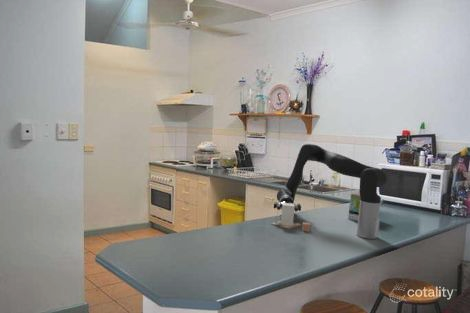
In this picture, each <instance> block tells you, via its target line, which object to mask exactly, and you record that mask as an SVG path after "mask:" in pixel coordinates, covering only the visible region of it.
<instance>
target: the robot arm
mask: <svg viewBox="0 0 470 313" xmlns="http://www.w3.org/2000/svg"><path fill="white" fill-rule="evenodd" d="M308 161H309V162H317V163H321V164H324V165H326V166H327V167H328V169H330V170H331V171H332V172H334V173H338V174H340V175H343V176H347V177H353V178H358V179H359V191H358V192H359V193H360V197H361V198H360V208H359V217H358V221H357V229H356V235H357V237H360V238H363V239H369V240H370V239H371V240H376V239H377V238H378V237H379V231H380V221H381V217H380V209H381V201H382V199H381V198H382V197H381V196H380V195H379V194H378V193H377V192H378V191H377V190H378V188H380V187H383V186H384V185H385V184H386V183H387V182H388V176H387V173H386V172H385V171H384V170H383V169H381V168H379V167H378V168H377V167H374V166H370V165H367V164H363V163H361V162H359V161H356V160H354V159H352V158H350V157H347V156H345V155H342V154H340V153H336V152H333V151H332V152H331V151H328V150H327V149H325V148H323V147H321V146H319V145H317V144H313V143H312V144H311V143H305V144H303V145H302V146H301V147H300V149H299V153H298V155H297V157H296V161H295V163H294V166H293V169H292V171H291V174H290V176H289V178H288V180H287V181H286V184H285V188H286V189H287V190H285V189H280V190H279V191H278V192H277V194H276V200H277V201H278V202H277V201H274V202H273V209H277V210H278V211H281V210H282V203H290V204H294V206H295V208H294V213H296V212H298V211H299V212H301V211H302V205H301V204H300V203H297V204H295V203H294V202H295V199H296V193H297V190H298V188H299V187H300V184H301V183H302V181H303V176H304V173H303V172H304V167H305V165H306V164H307V162H308Z"/></svg>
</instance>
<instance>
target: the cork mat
mask: <svg viewBox="0 0 470 313" xmlns="http://www.w3.org/2000/svg"><path fill="white" fill-rule="evenodd" d="M271 225H273V226H277V227H281V228H286V229H289V230H292V229H295V228H297V227H300V226H302V224H301V223H298V222H294V221H293V226H290V225H281V219H280V220H278V221H274V222H271Z"/></svg>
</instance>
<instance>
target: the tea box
mask: <svg viewBox="0 0 470 313" xmlns="http://www.w3.org/2000/svg"><path fill="white" fill-rule="evenodd" d="M360 198H361V197H360V193H359V191H358V192H354V193H351V194H350V201H349V208H348V215H347V216H348V217H347V219H348V220H352V221H356V222H358V217H359V208H360Z"/></svg>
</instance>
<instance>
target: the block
mask: <svg viewBox="0 0 470 313" xmlns="http://www.w3.org/2000/svg"><path fill="white" fill-rule="evenodd" d="M301 226H302V227H301V230H302V232H309V233H310V231H311V223H310V222H304V221H303V222H302V224H301Z"/></svg>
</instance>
